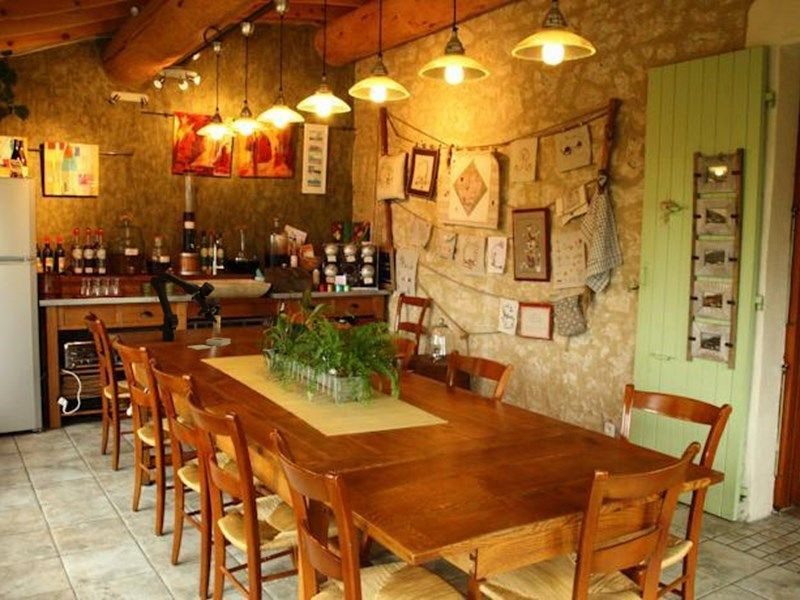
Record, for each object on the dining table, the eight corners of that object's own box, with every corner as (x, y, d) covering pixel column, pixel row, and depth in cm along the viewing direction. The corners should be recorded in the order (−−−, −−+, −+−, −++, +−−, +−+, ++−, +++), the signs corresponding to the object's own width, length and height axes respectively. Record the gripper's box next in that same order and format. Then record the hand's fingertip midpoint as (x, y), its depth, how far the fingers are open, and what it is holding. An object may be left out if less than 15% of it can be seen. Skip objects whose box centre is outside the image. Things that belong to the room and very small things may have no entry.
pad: (187, 347, 443) (187, 346, 443) (202, 345, 450) (202, 344, 450) (196, 349, 436) (196, 348, 436) (212, 348, 443) (212, 347, 443)
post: (211, 333, 453) (211, 316, 452) (215, 332, 456) (215, 315, 455) (217, 333, 451) (217, 316, 450) (221, 332, 455) (221, 315, 454)
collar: (206, 344, 453) (206, 339, 453) (215, 342, 463) (215, 337, 463) (221, 346, 450) (221, 341, 450) (230, 343, 460) (230, 338, 460)
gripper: (201, 293, 444) (218, 314, 442) (220, 291, 462) (236, 311, 459) (190, 306, 448) (206, 327, 445) (208, 303, 465) (224, 323, 462)
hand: (218, 321), depth 453 cm, fingers closed on post, 4 cm apart
